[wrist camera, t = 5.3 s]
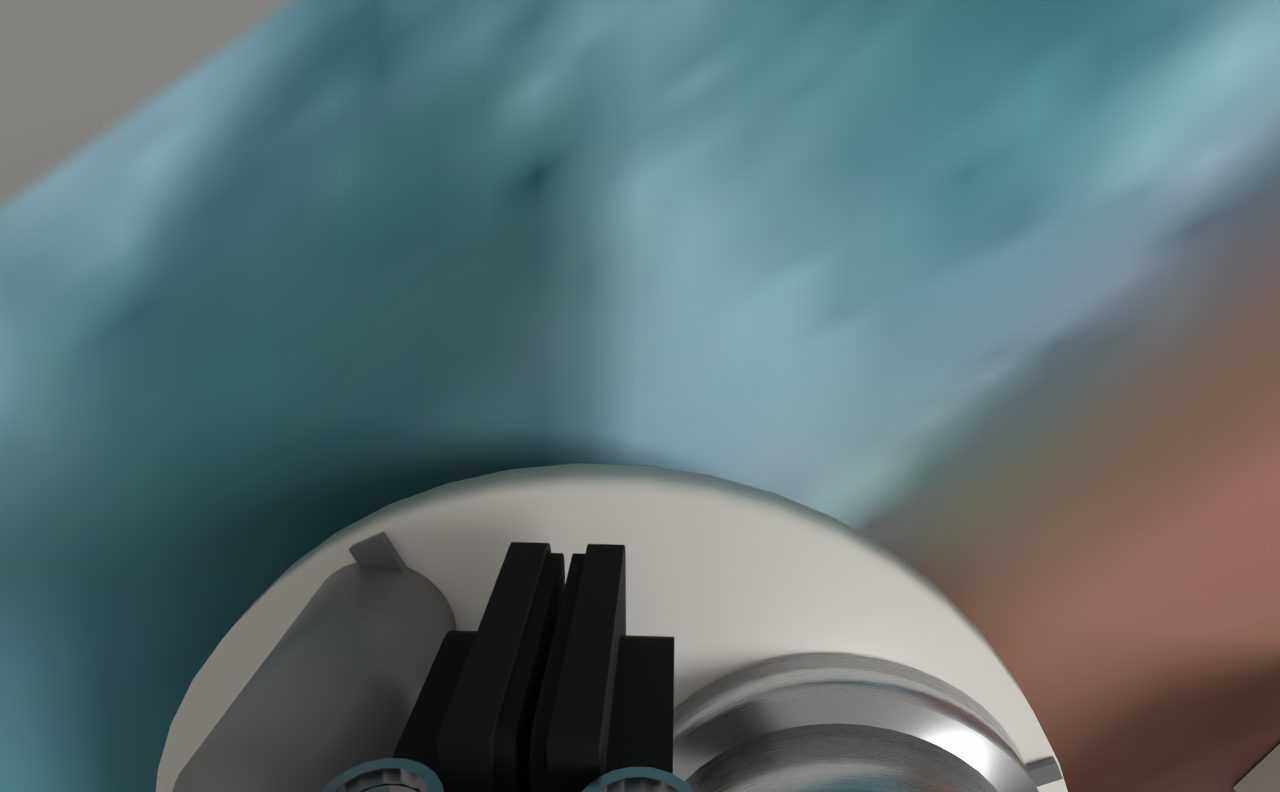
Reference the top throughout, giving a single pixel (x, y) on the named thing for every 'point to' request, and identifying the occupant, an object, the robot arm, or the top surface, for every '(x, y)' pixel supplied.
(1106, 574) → the top surface
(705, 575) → the white disc with knobs
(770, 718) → the door knob
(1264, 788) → the dial gauge
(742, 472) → the top surface
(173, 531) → the top surface
